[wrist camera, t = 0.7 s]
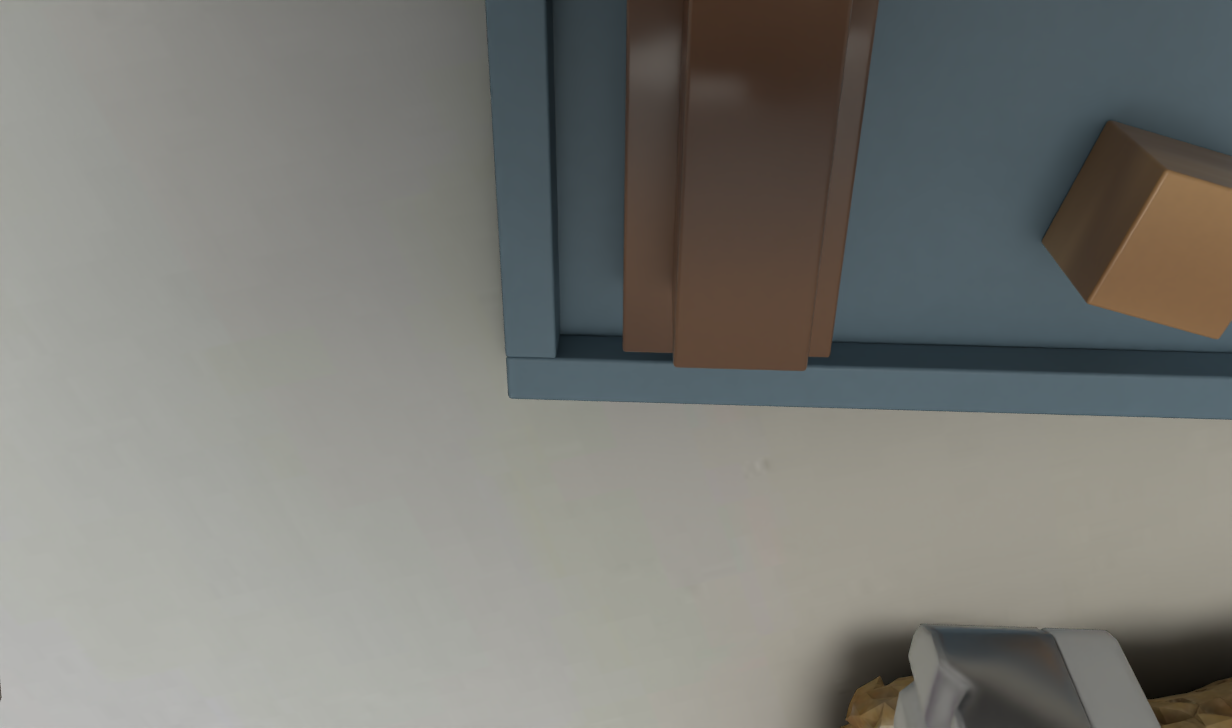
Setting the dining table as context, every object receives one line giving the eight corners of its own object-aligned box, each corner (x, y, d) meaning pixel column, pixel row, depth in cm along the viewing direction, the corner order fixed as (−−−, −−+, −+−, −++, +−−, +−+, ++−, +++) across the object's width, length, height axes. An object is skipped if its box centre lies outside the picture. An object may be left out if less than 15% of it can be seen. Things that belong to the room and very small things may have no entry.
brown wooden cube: (1107, 118, 22) (1166, 169, 19) (1234, 156, 22) (1309, 212, 19) (1039, 242, 23) (1085, 305, 21) (1159, 275, 23) (1219, 341, 21)
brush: (635, -320, 18) (623, -342, 13) (887, -319, 18) (978, -340, 13) (626, 287, 24) (616, 435, 19) (812, 292, 24) (852, 442, 19)
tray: (476, -494, 18) (454, -521, 16) (1801, -491, 17) (1944, -520, 15) (518, 353, 26) (507, 400, 25) (1385, 377, 26) (1442, 427, 24)
